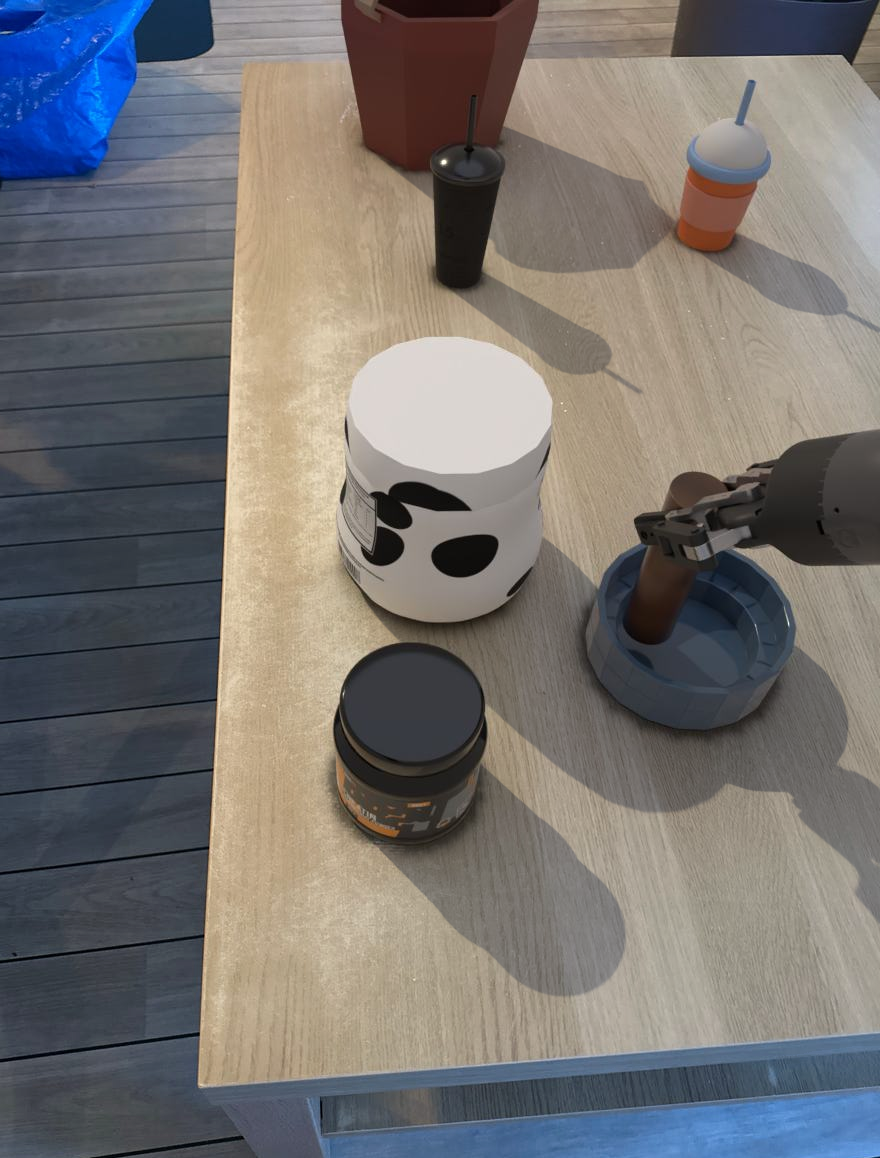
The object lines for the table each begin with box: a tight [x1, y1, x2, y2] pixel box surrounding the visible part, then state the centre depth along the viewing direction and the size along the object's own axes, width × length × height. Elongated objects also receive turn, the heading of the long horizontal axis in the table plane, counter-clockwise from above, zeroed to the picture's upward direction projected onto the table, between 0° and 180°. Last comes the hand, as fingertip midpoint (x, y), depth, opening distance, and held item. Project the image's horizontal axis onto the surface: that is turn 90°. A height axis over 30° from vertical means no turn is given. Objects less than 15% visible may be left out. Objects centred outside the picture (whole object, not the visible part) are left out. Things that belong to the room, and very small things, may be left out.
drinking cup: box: [430, 94, 507, 290], centre depth 103 cm, size 8×8×20 cm
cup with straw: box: [677, 79, 772, 252], centre depth 109 cm, size 9×9×18 cm
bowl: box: [584, 542, 797, 731], centre depth 79 cm, size 15×15×6 cm
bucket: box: [340, 0, 540, 172], centre depth 117 cm, size 24×22×25 cm
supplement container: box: [332, 641, 489, 845], centre depth 69 cm, size 10×10×12 cm
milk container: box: [335, 336, 554, 624], centre depth 80 cm, size 17×17×18 cm
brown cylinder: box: [623, 471, 728, 645], centre depth 73 cm, size 4×4×15 cm
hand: (664, 515), depth 71 cm, fingers closed on brown cylinder, 4 cm apart
